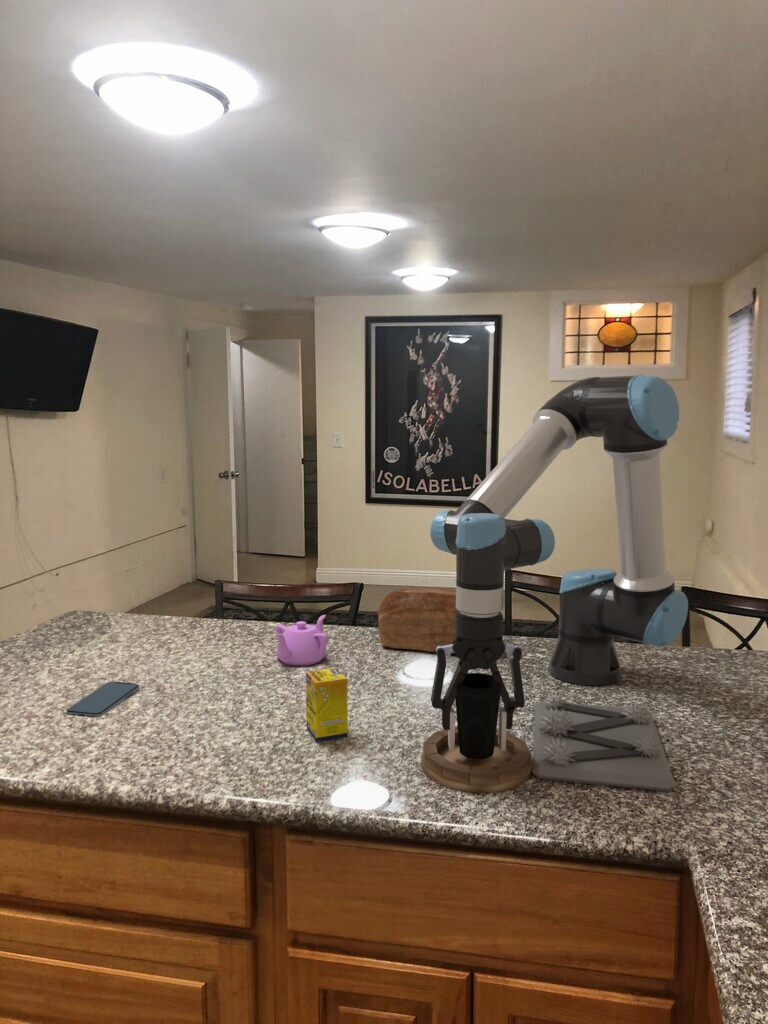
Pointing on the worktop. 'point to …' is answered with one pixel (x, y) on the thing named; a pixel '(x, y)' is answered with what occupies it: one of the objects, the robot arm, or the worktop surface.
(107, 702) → the smartphone
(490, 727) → the cup
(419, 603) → the bread
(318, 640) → the teapot
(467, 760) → the round tray
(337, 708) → the supplement box
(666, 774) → the grey board with spikes
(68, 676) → the worktop surface
